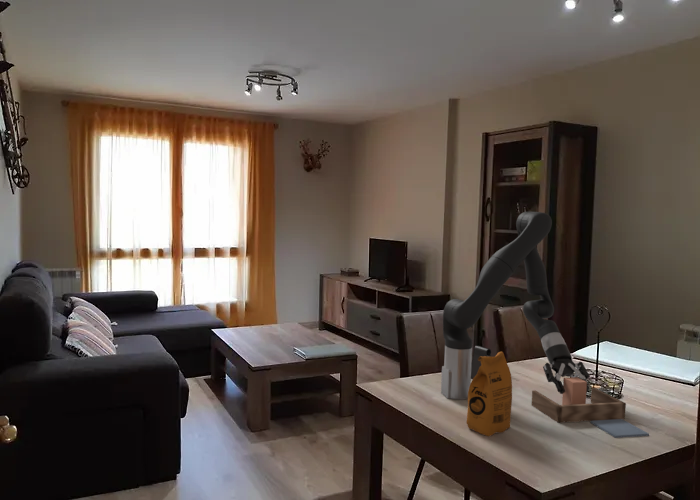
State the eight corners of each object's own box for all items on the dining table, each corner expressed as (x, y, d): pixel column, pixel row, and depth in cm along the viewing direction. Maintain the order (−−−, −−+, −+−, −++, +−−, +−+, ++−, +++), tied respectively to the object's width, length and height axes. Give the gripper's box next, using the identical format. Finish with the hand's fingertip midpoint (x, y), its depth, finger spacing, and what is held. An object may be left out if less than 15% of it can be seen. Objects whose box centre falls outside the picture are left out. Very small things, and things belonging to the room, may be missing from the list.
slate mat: (615, 437, 148) (615, 435, 148) (590, 422, 158) (590, 420, 158) (648, 435, 150) (648, 433, 150) (621, 420, 161) (621, 418, 161)
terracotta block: (571, 413, 166) (572, 382, 165) (561, 407, 171) (563, 377, 170) (585, 412, 167) (586, 382, 166) (575, 406, 172) (577, 377, 171)
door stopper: (483, 373, 206) (484, 344, 205) (495, 378, 201) (496, 347, 200) (467, 377, 201) (468, 346, 200) (479, 381, 196) (480, 350, 195)
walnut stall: (557, 422, 158) (558, 406, 157) (531, 405, 172) (532, 390, 172) (624, 418, 162) (625, 403, 162) (593, 402, 177) (594, 387, 176)
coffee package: (460, 426, 153) (463, 353, 151) (488, 418, 160) (491, 348, 158) (487, 439, 145) (491, 361, 143) (515, 429, 152) (519, 355, 150)
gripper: (541, 343, 175) (560, 388, 164) (579, 342, 178) (599, 386, 167) (532, 354, 180) (549, 398, 170) (569, 353, 183) (588, 396, 173)
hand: (574, 392), depth 169 cm, fingers open, 8 cm apart
